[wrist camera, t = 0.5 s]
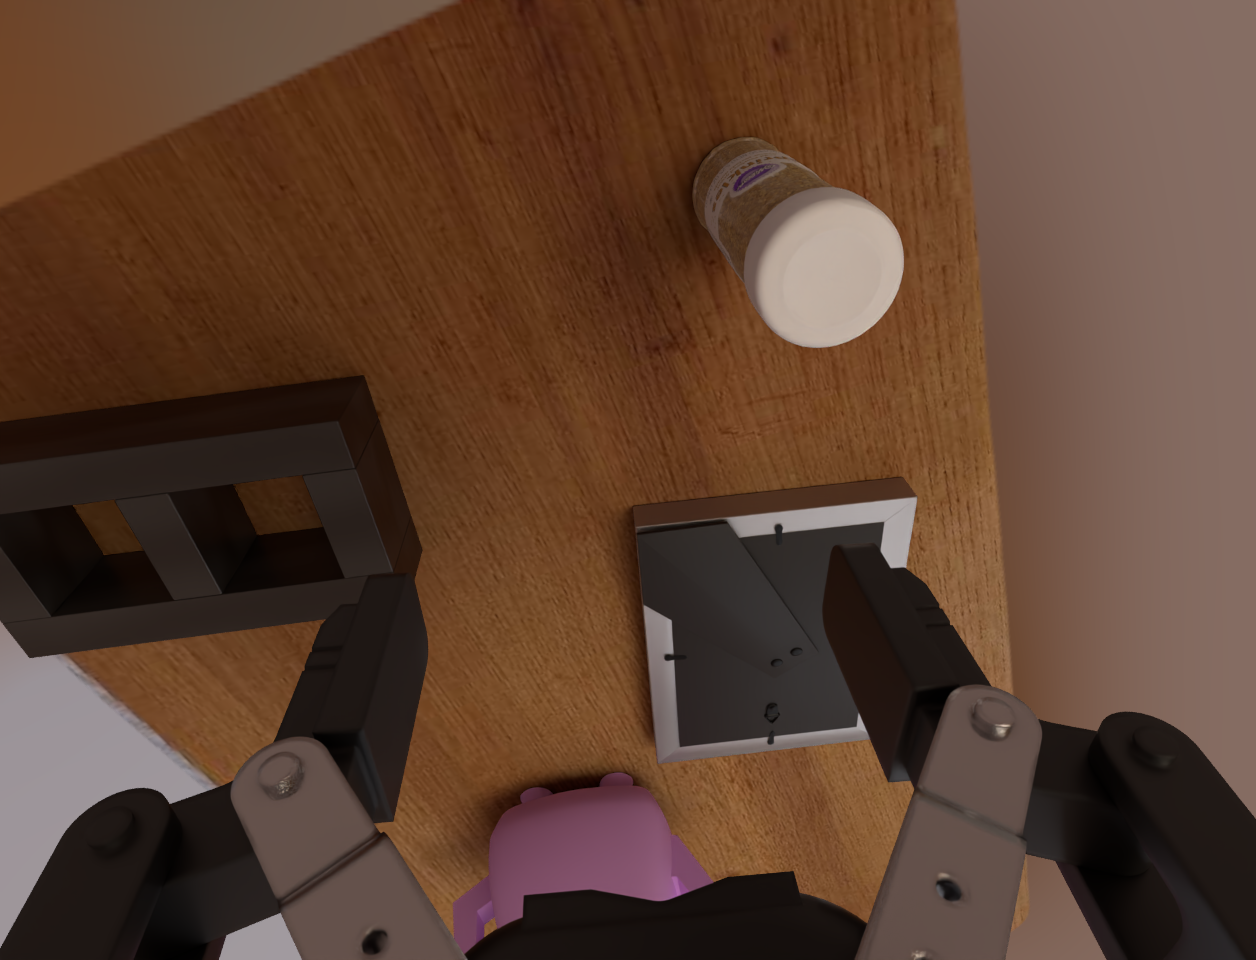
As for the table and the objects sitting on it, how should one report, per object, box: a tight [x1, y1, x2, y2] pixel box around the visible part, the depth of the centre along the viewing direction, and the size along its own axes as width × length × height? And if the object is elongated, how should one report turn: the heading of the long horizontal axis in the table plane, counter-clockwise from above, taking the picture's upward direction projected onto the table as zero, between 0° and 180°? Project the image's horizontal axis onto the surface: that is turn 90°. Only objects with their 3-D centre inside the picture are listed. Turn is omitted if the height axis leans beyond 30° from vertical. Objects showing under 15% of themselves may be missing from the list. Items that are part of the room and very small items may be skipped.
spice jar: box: [692, 137, 904, 348], centre depth 27 cm, size 5×5×13 cm
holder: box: [0, 376, 422, 658], centre depth 37 cm, size 11×20×5 cm, turn 96°
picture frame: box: [633, 477, 917, 764], centre depth 46 cm, size 16×3×21 cm
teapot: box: [453, 773, 714, 954], centre depth 52 cm, size 20×12×13 cm, turn 101°
